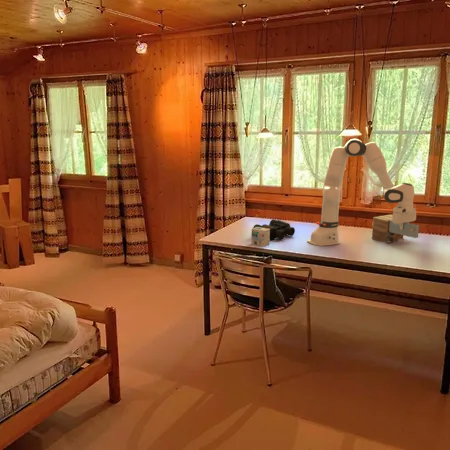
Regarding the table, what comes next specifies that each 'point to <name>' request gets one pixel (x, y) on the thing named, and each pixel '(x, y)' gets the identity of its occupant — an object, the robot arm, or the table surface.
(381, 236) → the brown wooden crate
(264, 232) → the light bulb box
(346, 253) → the table surface
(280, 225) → the binoculars
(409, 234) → the door
